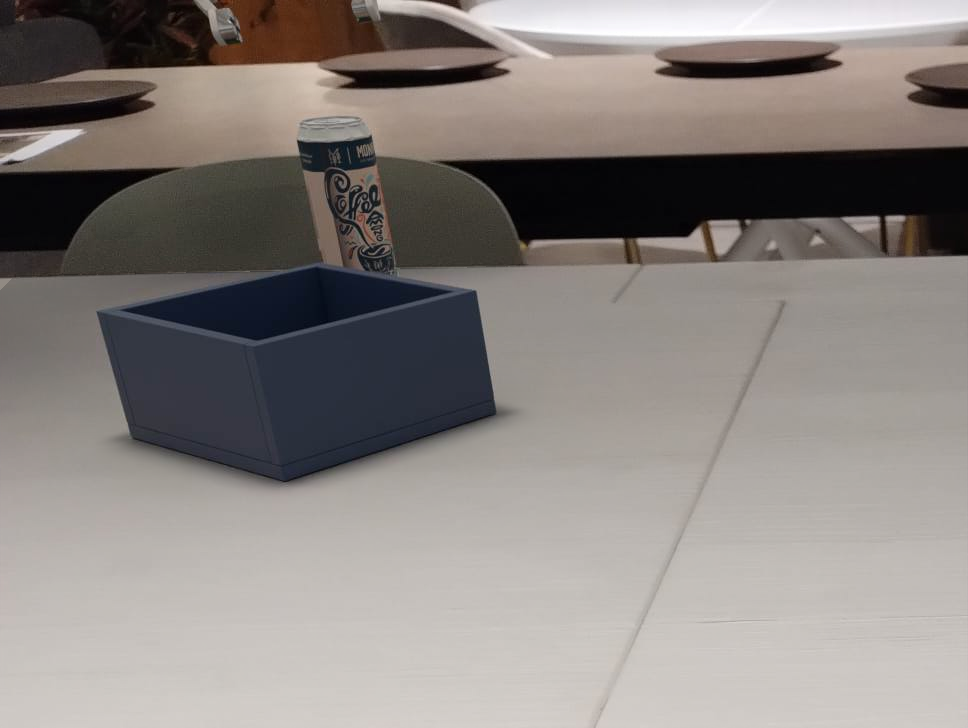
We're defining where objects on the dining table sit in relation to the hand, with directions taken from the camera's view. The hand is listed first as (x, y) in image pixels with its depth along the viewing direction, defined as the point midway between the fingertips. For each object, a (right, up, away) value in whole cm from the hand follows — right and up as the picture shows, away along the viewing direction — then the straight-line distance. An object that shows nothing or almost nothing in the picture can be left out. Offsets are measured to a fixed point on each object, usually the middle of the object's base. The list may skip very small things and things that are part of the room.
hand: (297, 29), depth 115 cm
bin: (+11, -32, -23) cm, 41 cm away
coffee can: (+4, -18, +2) cm, 19 cm away
